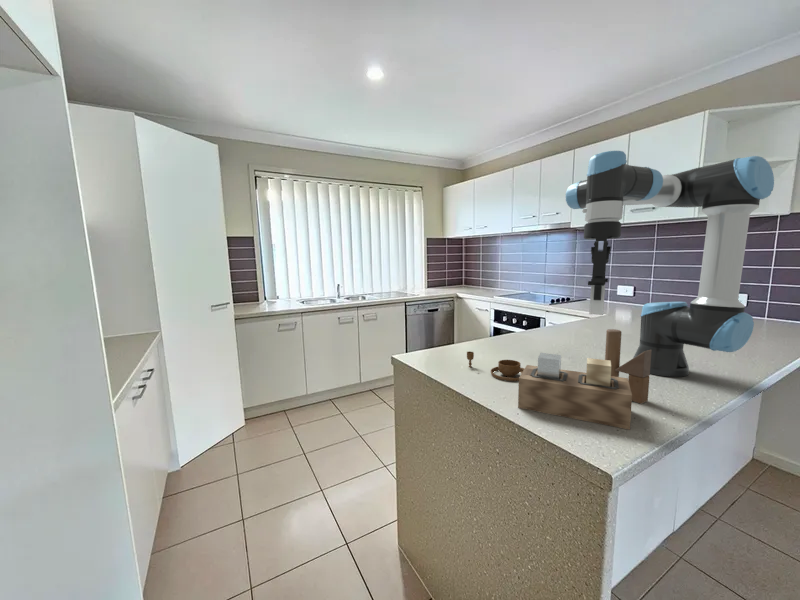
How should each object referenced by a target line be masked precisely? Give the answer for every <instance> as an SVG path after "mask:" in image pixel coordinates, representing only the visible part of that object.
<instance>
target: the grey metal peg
mask: <svg viewBox="0 0 800 600" xmlns="http://www.w3.org/2000/svg"><path fill="white" fill-rule="evenodd" d="M561 365H562V354H557V353H555V354H554V353H547V352H546V353H545V352H540V354H539V355H538V357H537V366H538V376H541V377H548V378H555V379H560V373H561V369H562V366H561Z"/></svg>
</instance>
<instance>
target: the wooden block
mask: <svg viewBox="0 0 800 600" xmlns="http://www.w3.org/2000/svg"><path fill="white" fill-rule="evenodd" d="M621 347H622V330H620V329H616V328H615V329H614V328H610V329H606V335H605V352H604V360H609V361H611V376H614V377H620V373H624V374H627V375H628V382H629V385H630V389H631V393H632V402H634V403H637V404H641V405H642V404H644V403H647V402H648V401H649V390H650V389H649V388H650V375H651V374H650V364H651V351H652V350H648V351H644V352H643V353H641V354H639V355H638V356H636V357H635V358H633V357H632V358H631V359H630V360H628V361H626V362H625V363H624V364H622V365H621V366H620V364H621Z"/></svg>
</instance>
